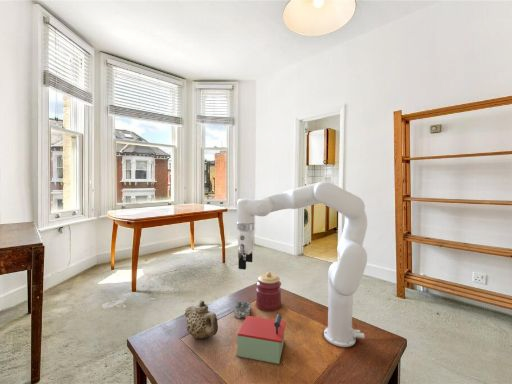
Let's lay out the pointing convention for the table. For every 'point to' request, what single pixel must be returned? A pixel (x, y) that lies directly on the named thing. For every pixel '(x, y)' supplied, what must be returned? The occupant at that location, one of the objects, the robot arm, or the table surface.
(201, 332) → the teapot
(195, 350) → the table surface
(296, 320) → the table surface
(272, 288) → the kitchen canister
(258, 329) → the lid
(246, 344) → the storage box
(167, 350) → the table surface
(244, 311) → the egg carton
